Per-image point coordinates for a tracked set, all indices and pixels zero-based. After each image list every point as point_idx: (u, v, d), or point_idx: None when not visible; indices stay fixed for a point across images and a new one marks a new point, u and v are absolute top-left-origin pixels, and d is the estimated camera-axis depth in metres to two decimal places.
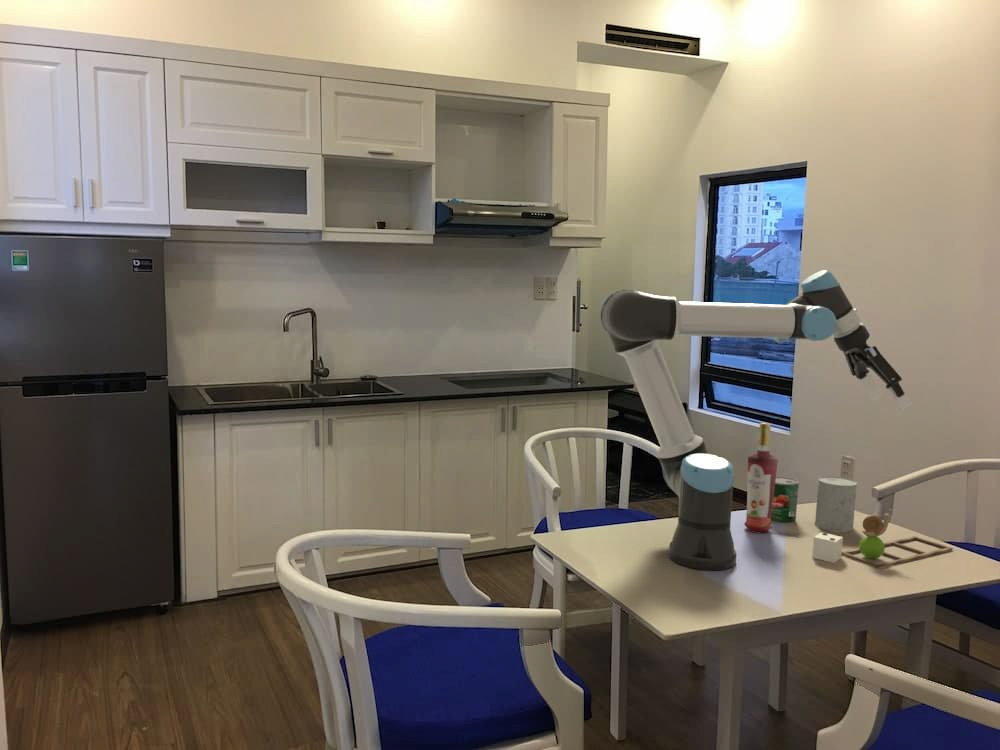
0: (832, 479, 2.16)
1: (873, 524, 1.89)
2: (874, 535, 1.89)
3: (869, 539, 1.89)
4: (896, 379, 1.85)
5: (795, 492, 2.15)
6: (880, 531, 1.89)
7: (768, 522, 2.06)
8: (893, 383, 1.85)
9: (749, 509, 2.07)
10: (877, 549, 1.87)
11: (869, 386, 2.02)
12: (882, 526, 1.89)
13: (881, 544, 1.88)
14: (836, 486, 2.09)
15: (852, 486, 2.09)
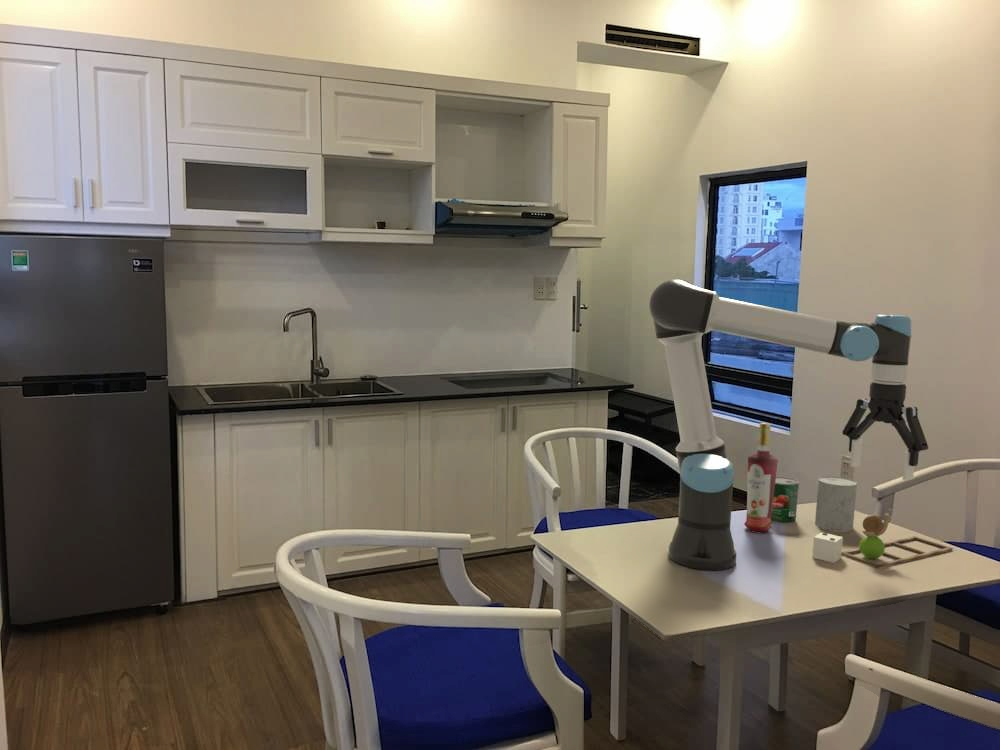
0: (832, 479, 2.16)
1: (873, 524, 1.89)
2: (874, 535, 1.89)
3: (869, 539, 1.89)
4: (925, 446, 1.78)
5: (795, 492, 2.15)
6: (880, 531, 1.89)
7: (768, 522, 2.06)
8: (922, 448, 1.78)
9: (749, 509, 2.07)
10: (877, 549, 1.87)
11: (856, 450, 1.93)
12: (882, 526, 1.89)
13: (881, 544, 1.88)
14: (836, 486, 2.09)
15: (852, 486, 2.09)
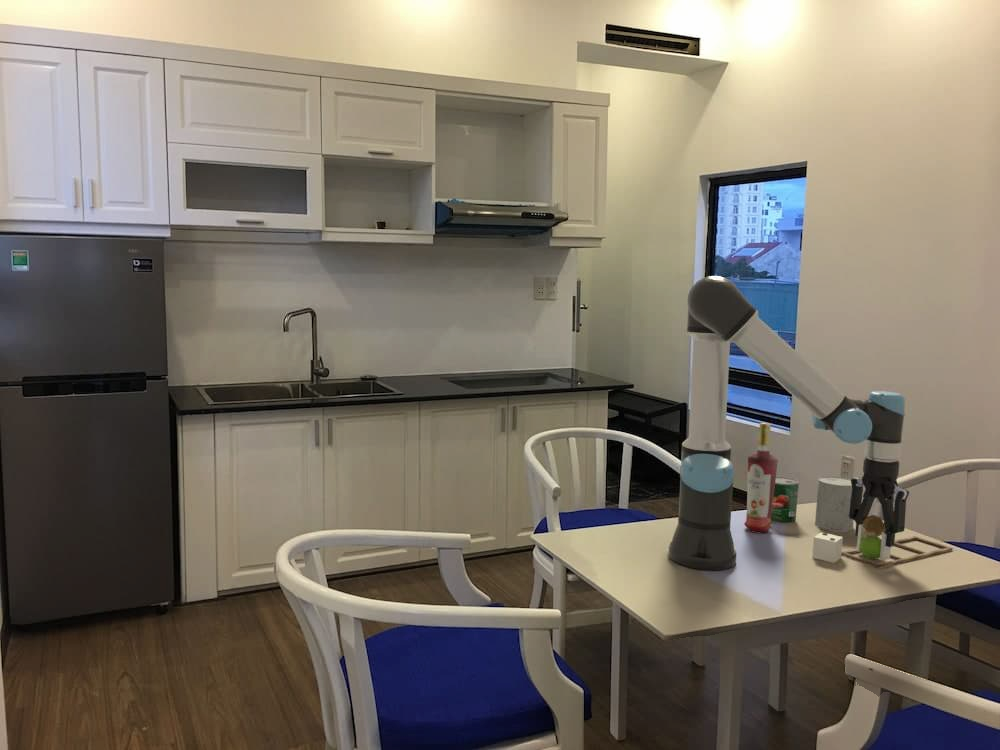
0: (832, 479, 2.16)
1: (873, 524, 1.89)
2: (875, 535, 1.89)
3: (870, 539, 1.88)
4: (901, 529, 1.84)
5: (795, 492, 2.15)
6: (880, 531, 1.89)
7: (768, 522, 2.06)
8: (898, 531, 1.83)
9: (749, 509, 2.07)
10: (877, 549, 1.87)
11: (863, 535, 1.92)
12: (882, 526, 1.89)
13: None
14: (836, 486, 2.09)
15: None
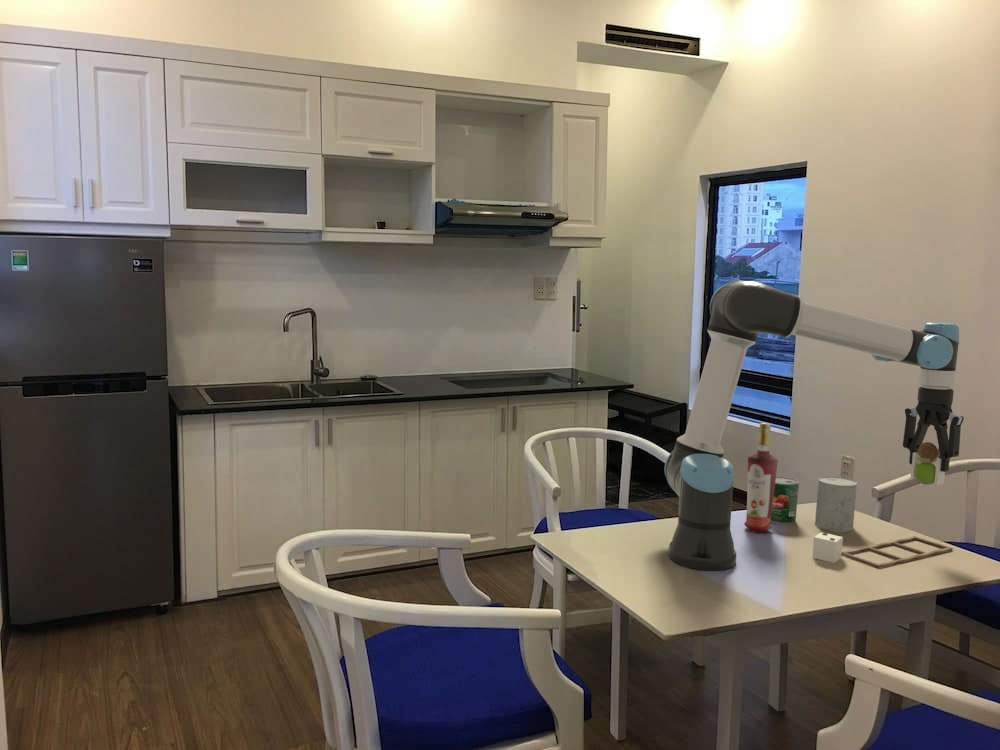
0: (832, 479, 2.16)
1: (928, 451, 1.96)
2: (929, 461, 1.96)
3: (925, 465, 1.95)
4: (956, 454, 1.91)
5: (795, 492, 2.15)
6: (935, 457, 1.96)
7: (768, 522, 2.06)
8: (953, 455, 1.90)
9: (749, 509, 2.07)
10: (932, 474, 1.94)
11: (917, 463, 1.99)
12: (937, 452, 1.96)
13: None
14: (836, 486, 2.09)
15: (852, 486, 2.09)
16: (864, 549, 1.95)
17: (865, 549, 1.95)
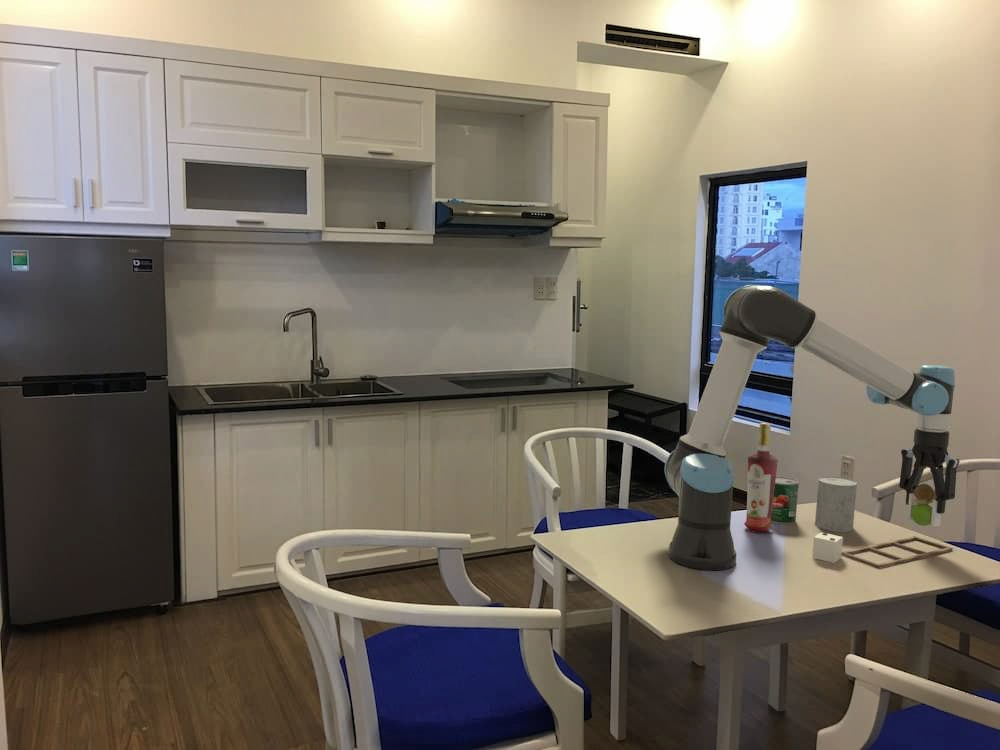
0: (832, 479, 2.16)
1: (924, 492, 1.97)
2: (925, 503, 1.97)
3: (921, 506, 1.97)
4: (952, 497, 1.92)
5: (795, 492, 2.15)
6: (931, 499, 1.97)
7: (768, 522, 2.06)
8: (949, 498, 1.92)
9: (749, 509, 2.07)
10: (929, 516, 1.95)
11: (913, 503, 2.00)
12: (933, 494, 1.97)
13: None
14: (836, 486, 2.09)
15: (852, 486, 2.09)
16: (864, 549, 1.95)
17: (865, 549, 1.95)
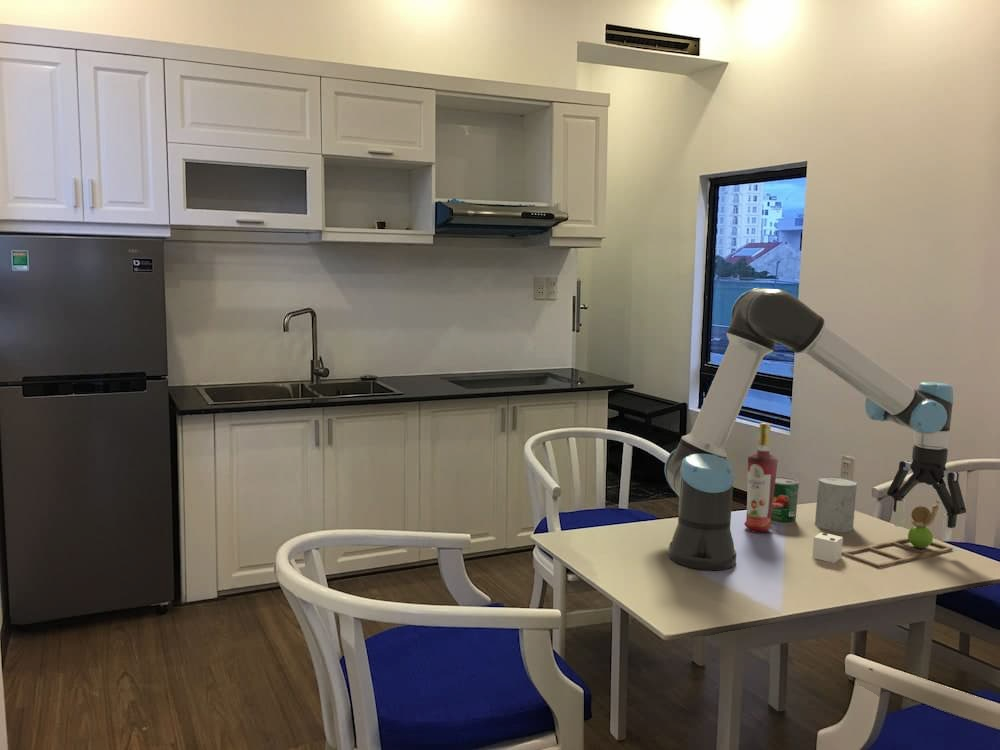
0: (832, 479, 2.16)
1: (921, 515, 1.98)
2: (922, 525, 1.98)
3: (918, 529, 1.98)
4: (963, 510, 1.90)
5: (795, 492, 2.15)
6: (928, 521, 1.98)
7: (768, 522, 2.06)
8: (960, 512, 1.89)
9: (749, 509, 2.07)
10: (926, 538, 1.96)
11: (901, 511, 2.03)
12: (930, 517, 1.98)
13: (929, 534, 1.97)
14: (836, 486, 2.09)
15: (852, 486, 2.09)
16: (864, 549, 1.95)
17: (865, 549, 1.95)
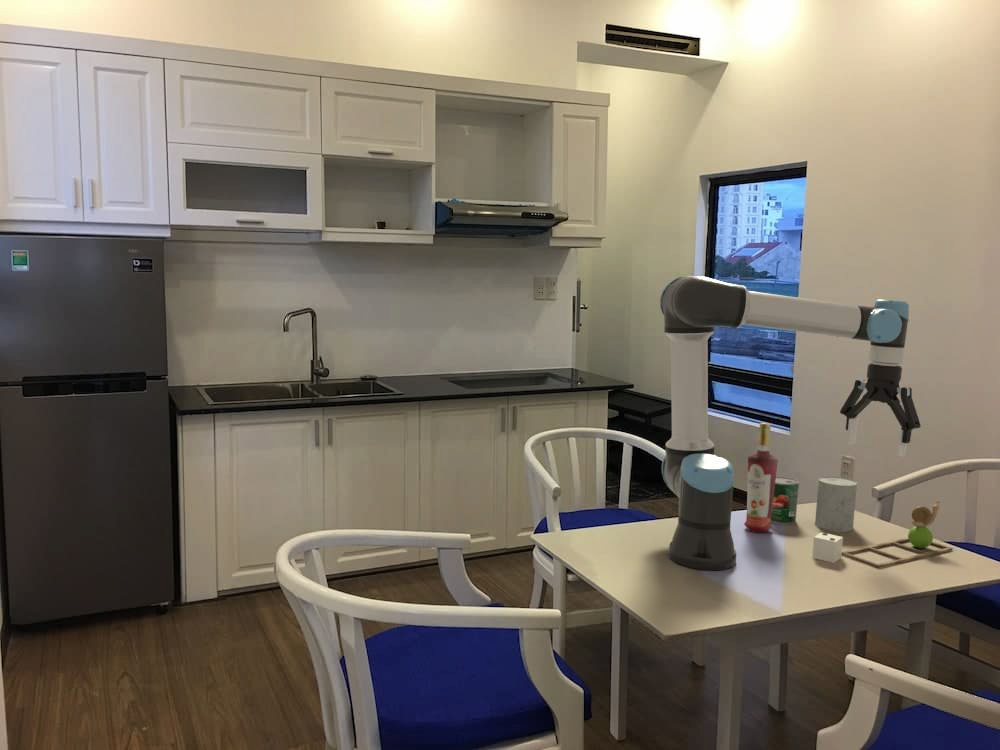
0: (832, 479, 2.16)
1: (922, 515, 1.98)
2: (923, 525, 1.98)
3: (918, 529, 1.97)
4: (917, 424, 1.88)
5: (795, 492, 2.15)
6: (928, 521, 1.98)
7: (768, 522, 2.06)
8: (914, 426, 1.88)
9: (749, 509, 2.07)
10: (926, 538, 1.96)
11: (853, 429, 2.03)
12: (930, 517, 1.98)
13: (930, 534, 1.97)
14: (836, 486, 2.09)
15: (852, 486, 2.09)
16: (864, 549, 1.95)
17: (865, 549, 1.95)
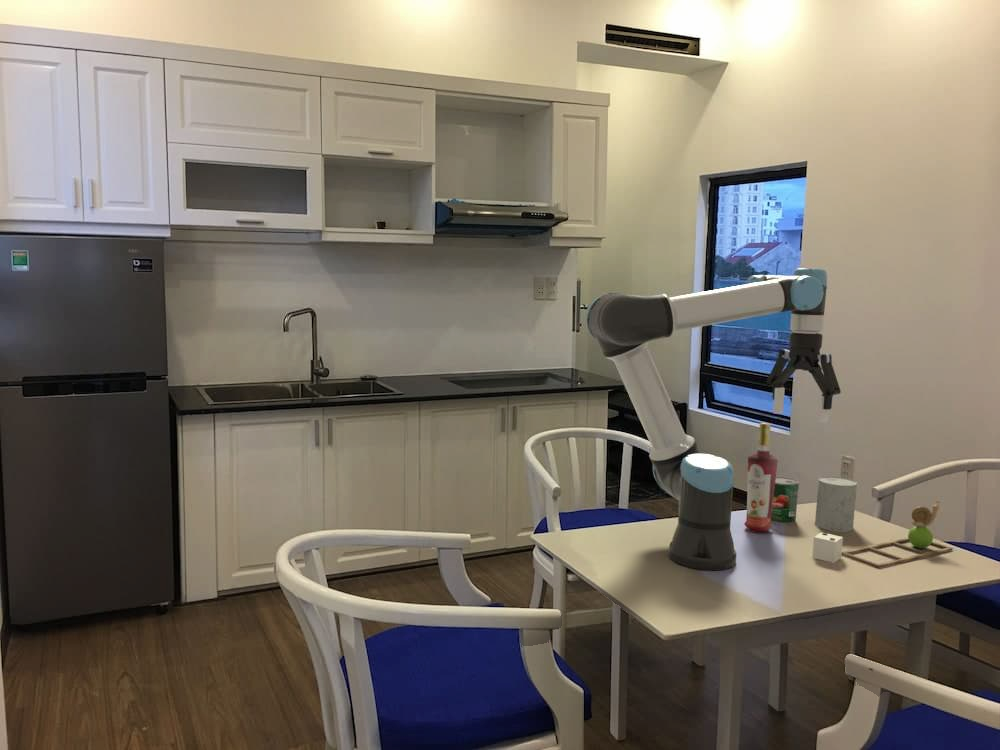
0: (832, 479, 2.16)
1: (922, 515, 1.98)
2: (923, 525, 1.98)
3: (918, 529, 1.97)
4: (837, 390, 1.90)
5: (795, 492, 2.15)
6: (928, 521, 1.98)
7: (768, 522, 2.06)
8: (834, 392, 1.90)
9: (749, 509, 2.07)
10: (926, 538, 1.96)
11: (779, 398, 2.05)
12: (930, 517, 1.98)
13: (930, 534, 1.97)
14: (836, 486, 2.09)
15: (852, 486, 2.09)
16: (864, 549, 1.95)
17: (865, 549, 1.95)
